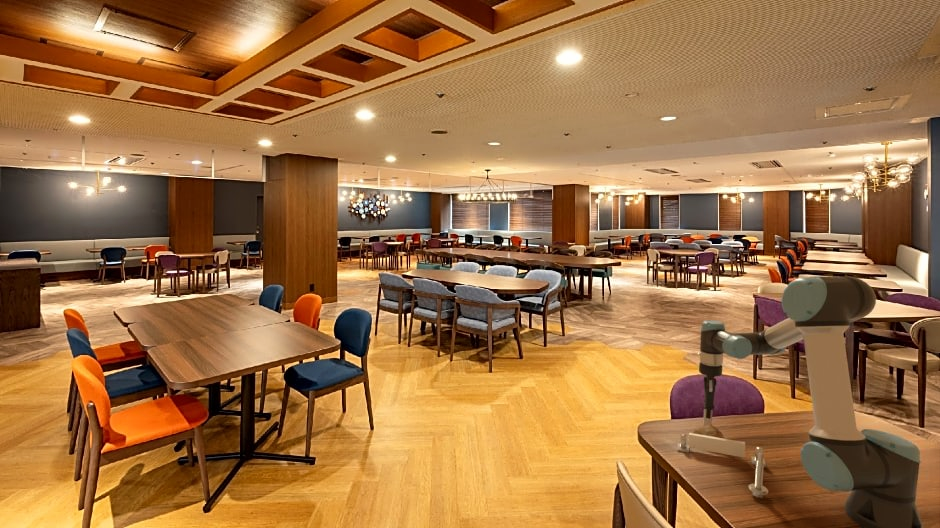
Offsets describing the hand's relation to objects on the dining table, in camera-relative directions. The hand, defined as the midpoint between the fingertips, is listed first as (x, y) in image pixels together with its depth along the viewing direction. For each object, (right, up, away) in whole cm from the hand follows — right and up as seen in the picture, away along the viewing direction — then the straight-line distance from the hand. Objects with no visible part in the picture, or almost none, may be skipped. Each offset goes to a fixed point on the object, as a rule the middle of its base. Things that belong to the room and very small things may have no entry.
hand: (707, 425), depth 172 cm
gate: (-5, -3, -16) cm, 17 cm away
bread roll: (-3, -4, -7) cm, 9 cm away
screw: (-5, -7, -39) cm, 40 cm away
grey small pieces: (-4, -4, -17) cm, 18 cm away
